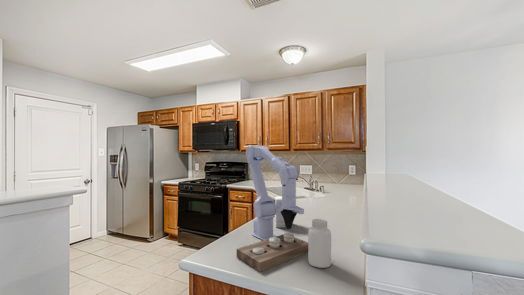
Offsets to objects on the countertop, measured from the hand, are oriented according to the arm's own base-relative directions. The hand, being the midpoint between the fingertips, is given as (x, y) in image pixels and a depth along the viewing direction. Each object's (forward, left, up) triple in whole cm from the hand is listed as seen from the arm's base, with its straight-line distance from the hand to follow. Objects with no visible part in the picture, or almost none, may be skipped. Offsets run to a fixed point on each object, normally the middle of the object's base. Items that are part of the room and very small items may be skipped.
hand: (288, 228), depth 94 cm
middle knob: (0, -8, -6) cm, 10 cm away
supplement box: (-23, +20, -8) cm, 32 cm away
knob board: (0, -8, -8) cm, 11 cm away
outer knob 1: (0, -16, -8) cm, 18 cm away
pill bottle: (+16, -1, -8) cm, 18 cm away
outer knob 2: (0, 0, -6) cm, 6 cm away
